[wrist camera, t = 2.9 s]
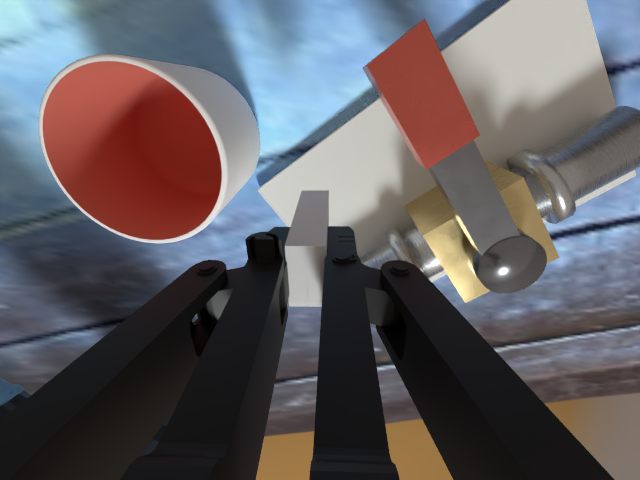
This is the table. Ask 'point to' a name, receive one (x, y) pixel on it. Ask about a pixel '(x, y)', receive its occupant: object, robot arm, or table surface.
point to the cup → (147, 144)
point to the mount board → (484, 107)
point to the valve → (519, 198)
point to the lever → (453, 158)
